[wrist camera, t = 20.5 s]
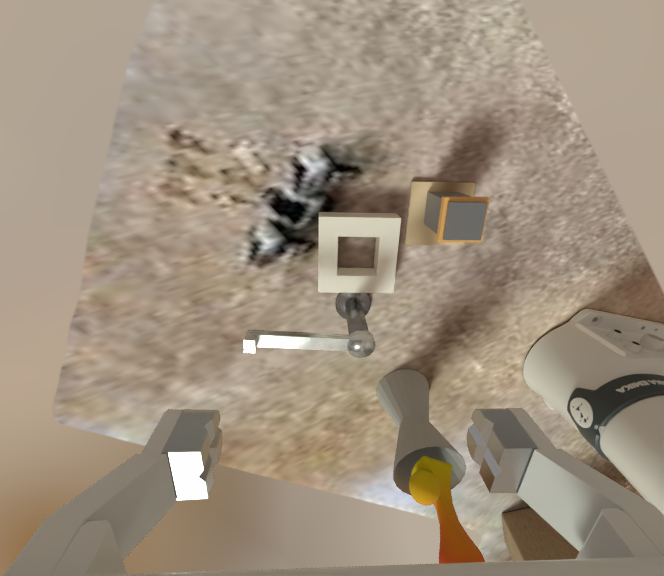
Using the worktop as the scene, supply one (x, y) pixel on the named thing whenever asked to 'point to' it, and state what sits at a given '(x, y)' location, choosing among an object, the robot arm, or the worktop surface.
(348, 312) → the post
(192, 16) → the worktop surface
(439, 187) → the coaster
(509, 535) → the wooden block
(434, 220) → the plug
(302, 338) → the grey metal bar
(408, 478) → the lava lamp
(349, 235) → the socket
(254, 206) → the worktop surface
